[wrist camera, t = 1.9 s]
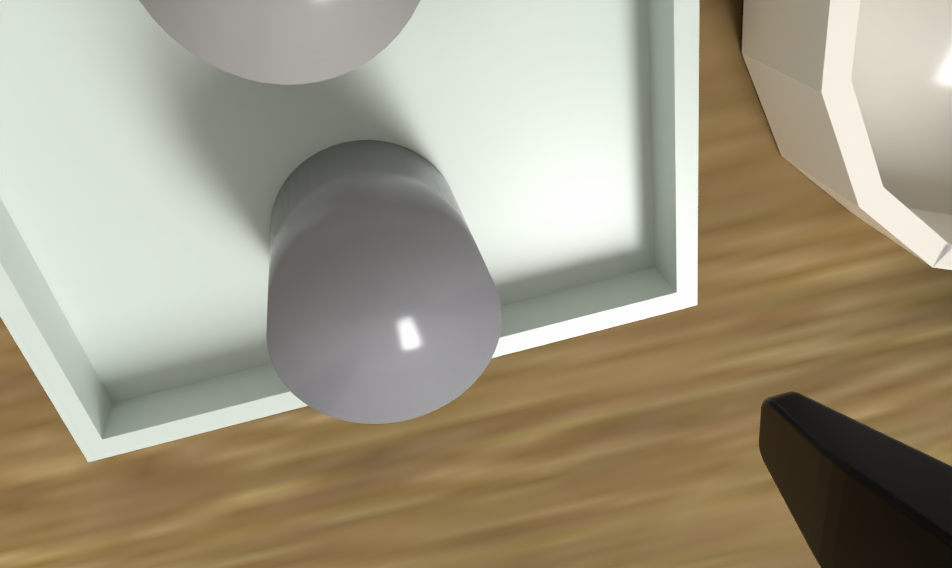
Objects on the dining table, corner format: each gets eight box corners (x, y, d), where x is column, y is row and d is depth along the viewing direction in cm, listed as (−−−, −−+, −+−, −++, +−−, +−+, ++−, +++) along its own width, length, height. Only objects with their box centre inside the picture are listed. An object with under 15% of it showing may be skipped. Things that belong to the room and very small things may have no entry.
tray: (661, 264, 19) (697, 304, 18) (106, 403, 18) (88, 462, 16) (646, -407, 12) (701, -443, 11) (-262, -263, 11) (-360, -280, 9)
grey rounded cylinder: (470, 284, 18) (515, 391, 14) (300, 326, 17) (303, 447, 14) (440, 120, 15) (484, 201, 12) (244, 164, 15) (232, 261, 12)
